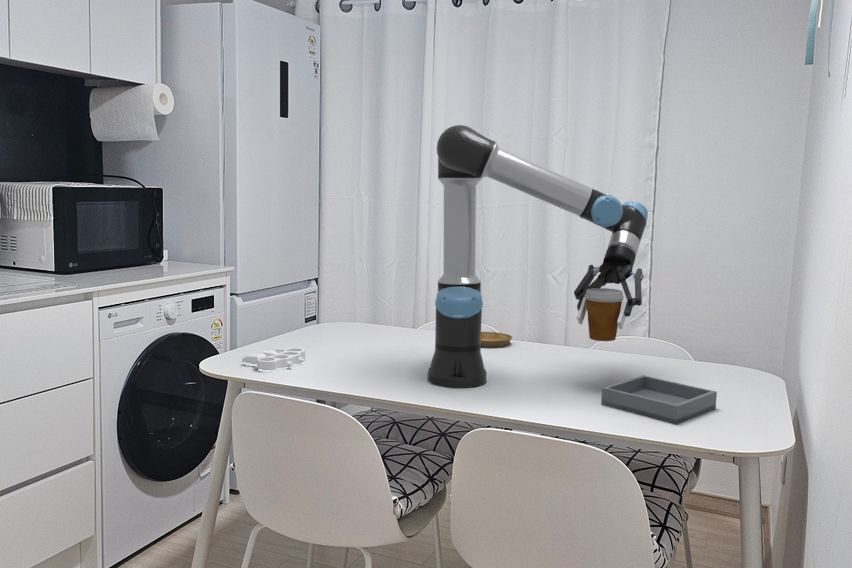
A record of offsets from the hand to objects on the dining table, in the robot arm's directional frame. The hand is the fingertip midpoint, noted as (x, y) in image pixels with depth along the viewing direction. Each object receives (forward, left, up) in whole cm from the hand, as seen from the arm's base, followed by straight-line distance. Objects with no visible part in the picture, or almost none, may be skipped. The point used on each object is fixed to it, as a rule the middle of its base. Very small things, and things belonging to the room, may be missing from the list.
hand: (599, 323), depth 187 cm
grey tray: (+17, +1, -17) cm, 24 cm away
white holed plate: (-73, -45, -18) cm, 88 cm away
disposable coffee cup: (-1, +3, -5) cm, 6 cm away
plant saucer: (-54, +21, -18) cm, 61 cm away
